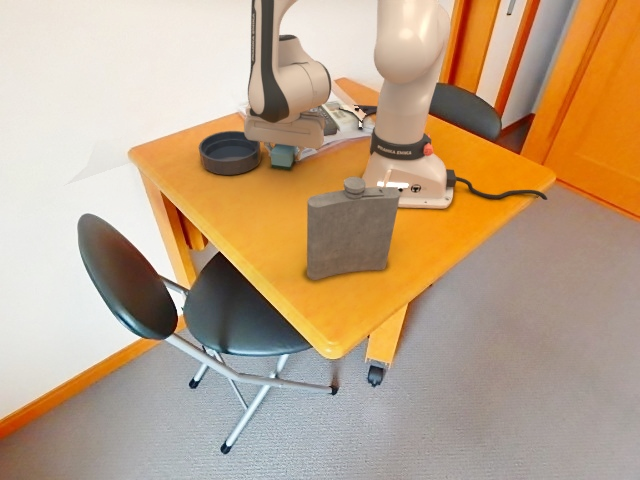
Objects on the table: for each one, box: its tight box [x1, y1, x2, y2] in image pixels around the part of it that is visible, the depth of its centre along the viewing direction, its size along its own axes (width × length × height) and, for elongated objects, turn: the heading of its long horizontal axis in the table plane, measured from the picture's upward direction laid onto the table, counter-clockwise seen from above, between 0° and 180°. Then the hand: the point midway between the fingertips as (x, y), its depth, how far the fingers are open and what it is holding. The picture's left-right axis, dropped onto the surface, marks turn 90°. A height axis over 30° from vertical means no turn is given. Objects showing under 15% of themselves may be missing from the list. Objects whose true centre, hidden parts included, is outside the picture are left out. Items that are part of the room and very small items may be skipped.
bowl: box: [198, 130, 262, 176], centre depth 104 cm, size 16×16×4 cm
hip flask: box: [306, 176, 400, 281], centre depth 71 cm, size 16×4×20 cm, turn 103°
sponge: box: [270, 144, 298, 171], centre depth 104 cm, size 8×5×4 cm, turn 169°
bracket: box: [353, 104, 377, 130], centre depth 124 cm, size 14×15×3 cm
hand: (284, 157), depth 105 cm, fingers open, 5 cm apart
